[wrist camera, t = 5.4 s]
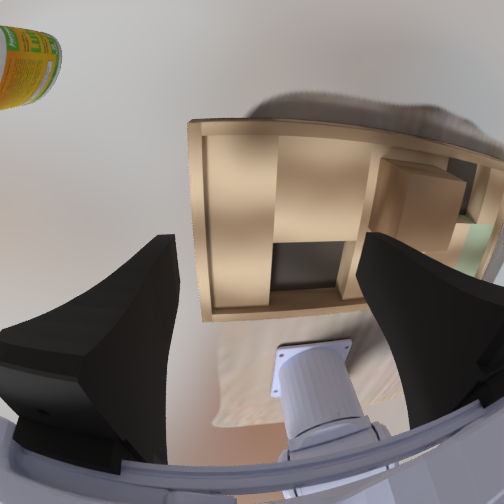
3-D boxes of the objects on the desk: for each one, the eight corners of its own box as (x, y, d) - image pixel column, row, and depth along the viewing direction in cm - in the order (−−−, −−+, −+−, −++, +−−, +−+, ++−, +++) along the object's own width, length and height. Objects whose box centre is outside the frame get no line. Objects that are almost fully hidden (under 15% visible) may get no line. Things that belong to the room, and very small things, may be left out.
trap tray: (463, 278, 26) (475, 291, 24) (203, 299, 23) (202, 322, 21) (499, 159, 19) (517, 168, 17) (192, 119, 16) (187, 123, 14)
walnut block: (421, 227, 19) (447, 250, 16) (368, 227, 19) (391, 253, 16) (435, 165, 17) (466, 182, 14) (380, 157, 16) (410, 173, 13)
